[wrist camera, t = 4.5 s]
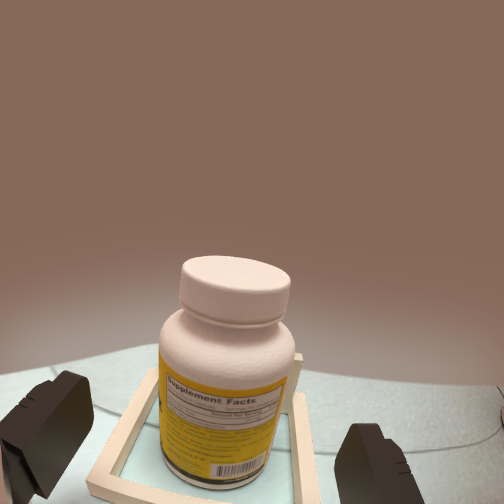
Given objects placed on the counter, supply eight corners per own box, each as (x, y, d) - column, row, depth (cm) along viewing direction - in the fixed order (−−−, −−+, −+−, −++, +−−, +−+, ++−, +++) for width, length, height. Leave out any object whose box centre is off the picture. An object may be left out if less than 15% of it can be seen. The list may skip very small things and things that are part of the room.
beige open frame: (299, 407, 19) (314, 355, 18) (315, 534, 9) (347, 486, 8) (150, 382, 19) (151, 328, 18) (90, 494, 9) (71, 437, 8)
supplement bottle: (192, 407, 17) (209, 244, 15) (279, 440, 15) (323, 271, 13) (138, 460, 12) (132, 265, 10) (242, 509, 10) (292, 313, 8)
